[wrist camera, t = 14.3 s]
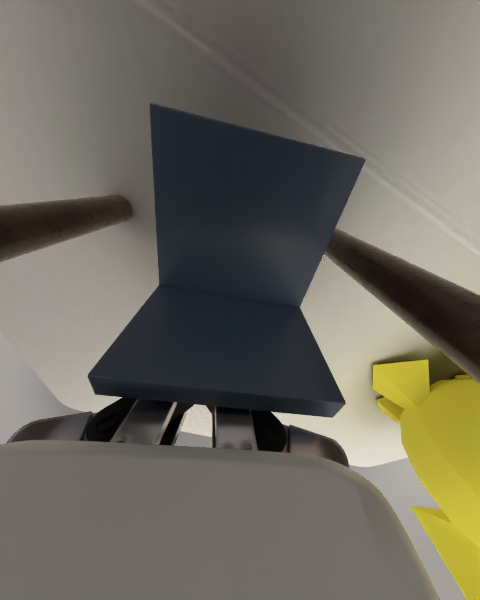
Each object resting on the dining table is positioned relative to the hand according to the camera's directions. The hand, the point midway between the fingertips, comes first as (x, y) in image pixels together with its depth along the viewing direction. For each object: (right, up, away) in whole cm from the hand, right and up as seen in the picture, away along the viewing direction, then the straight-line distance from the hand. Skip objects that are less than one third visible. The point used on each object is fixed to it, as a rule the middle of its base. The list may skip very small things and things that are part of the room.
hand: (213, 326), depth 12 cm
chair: (+2, +8, +3) cm, 9 cm away
